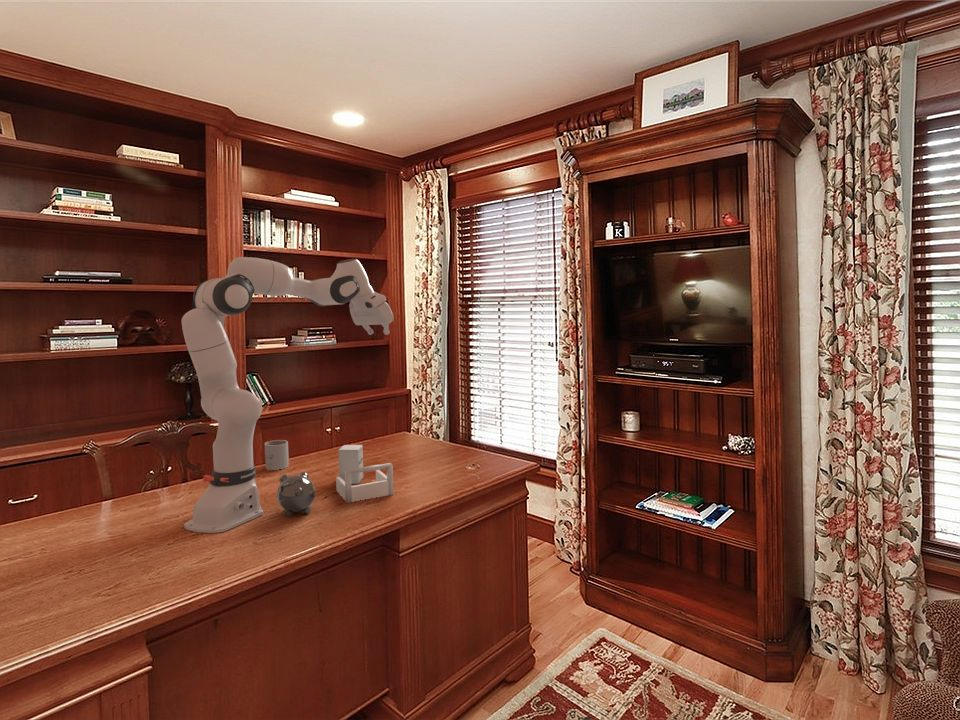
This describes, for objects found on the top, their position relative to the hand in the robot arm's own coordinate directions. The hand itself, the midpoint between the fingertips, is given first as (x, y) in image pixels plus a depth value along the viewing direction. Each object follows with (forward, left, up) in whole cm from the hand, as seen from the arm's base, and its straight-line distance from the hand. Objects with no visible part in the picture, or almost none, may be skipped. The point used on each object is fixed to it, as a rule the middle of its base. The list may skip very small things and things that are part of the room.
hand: (379, 333), depth 200 cm
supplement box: (-14, +6, -53) cm, 55 cm away
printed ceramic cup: (-5, +44, -53) cm, 69 cm away
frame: (-24, -4, -53) cm, 58 cm away
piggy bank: (-45, +8, -53) cm, 70 cm away
